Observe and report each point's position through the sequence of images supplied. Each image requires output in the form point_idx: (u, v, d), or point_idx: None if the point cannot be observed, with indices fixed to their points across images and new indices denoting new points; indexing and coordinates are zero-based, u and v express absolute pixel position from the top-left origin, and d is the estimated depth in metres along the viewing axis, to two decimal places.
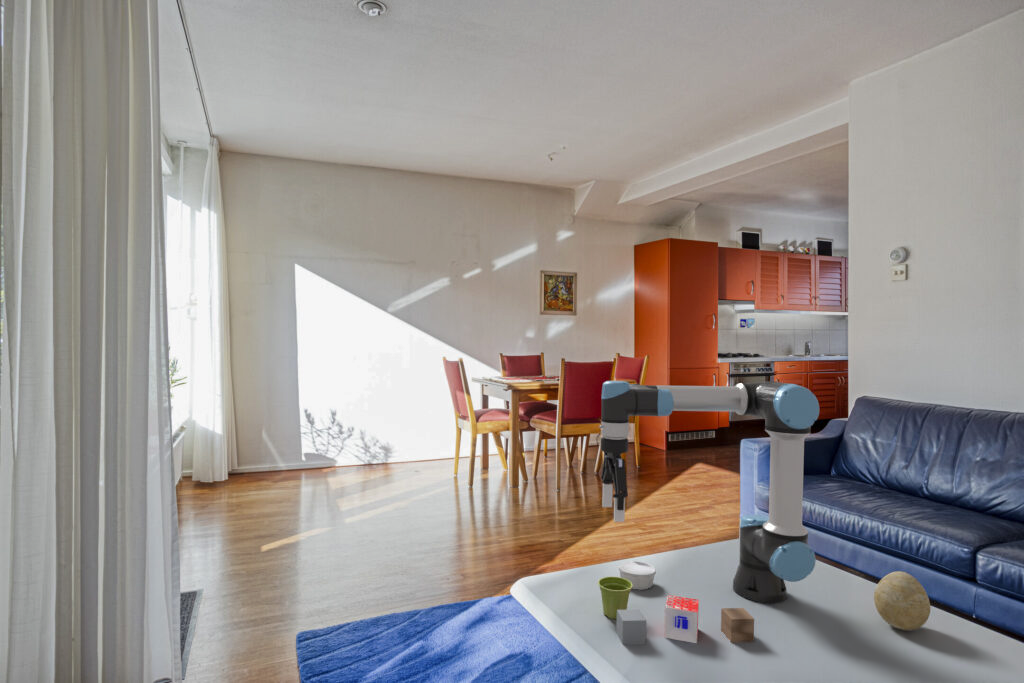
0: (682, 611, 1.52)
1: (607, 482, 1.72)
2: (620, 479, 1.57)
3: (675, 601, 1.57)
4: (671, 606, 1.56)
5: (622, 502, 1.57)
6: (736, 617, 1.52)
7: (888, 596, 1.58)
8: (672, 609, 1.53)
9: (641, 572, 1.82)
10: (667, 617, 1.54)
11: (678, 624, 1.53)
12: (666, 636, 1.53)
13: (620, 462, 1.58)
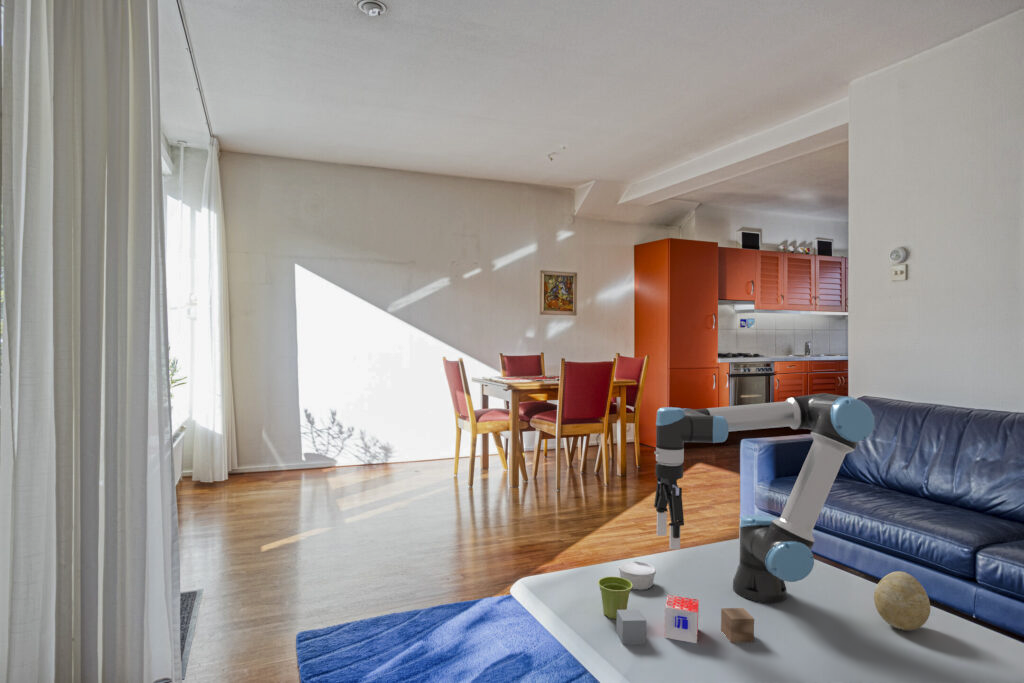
0: (682, 611, 1.52)
1: (661, 511, 1.73)
2: (677, 508, 1.60)
3: (675, 601, 1.57)
4: (671, 606, 1.56)
5: (678, 530, 1.60)
6: (736, 617, 1.52)
7: (888, 596, 1.58)
8: (672, 609, 1.53)
9: (641, 572, 1.82)
10: (667, 617, 1.54)
11: (678, 624, 1.53)
12: (666, 636, 1.53)
13: (677, 491, 1.61)
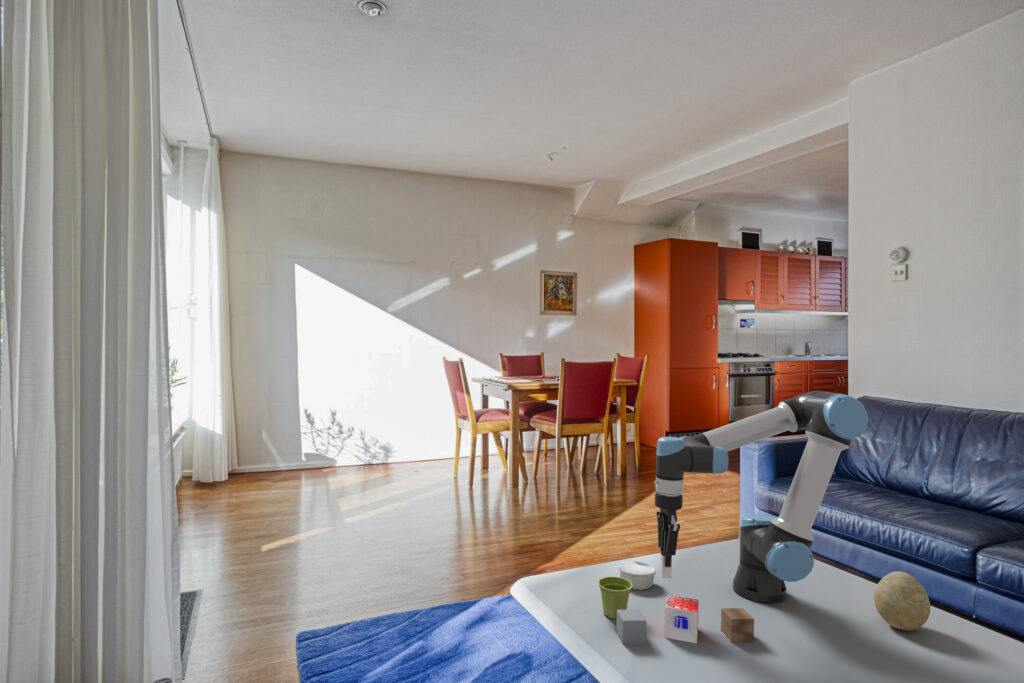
0: (682, 611, 1.52)
1: None
2: (671, 542, 1.63)
3: (675, 601, 1.57)
4: (671, 606, 1.56)
5: (670, 560, 1.66)
6: (736, 617, 1.52)
7: (888, 596, 1.58)
8: (672, 609, 1.53)
9: (641, 572, 1.82)
10: (667, 617, 1.54)
11: (678, 624, 1.53)
12: (666, 636, 1.53)
13: (675, 528, 1.61)
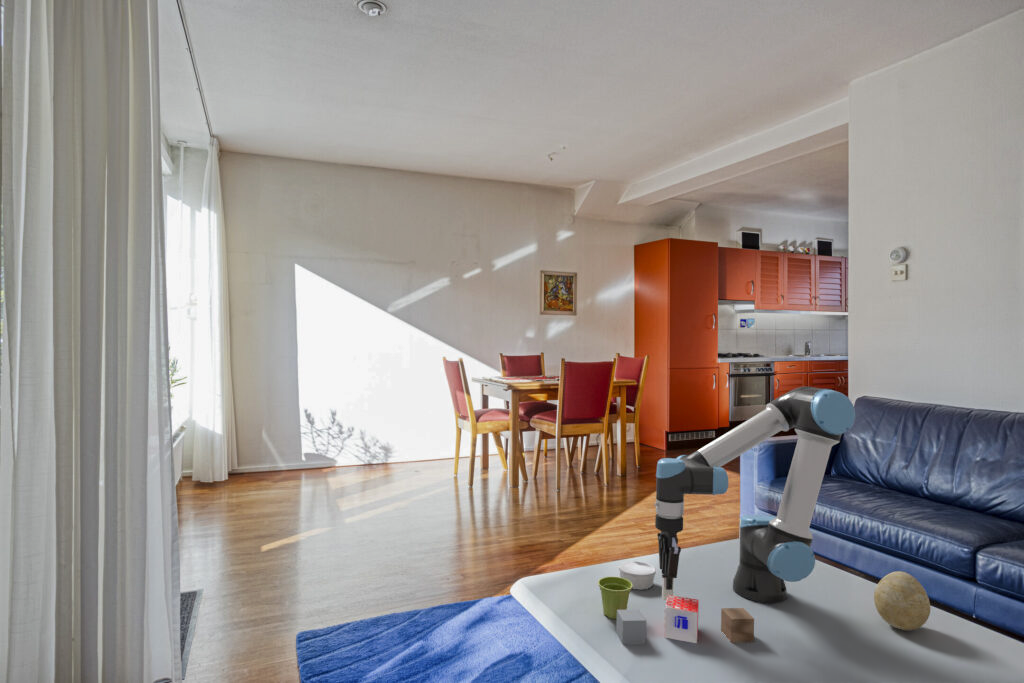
0: (682, 611, 1.52)
1: None
2: (672, 564, 1.62)
3: (675, 601, 1.57)
4: (671, 606, 1.56)
5: (671, 582, 1.65)
6: (736, 617, 1.52)
7: (888, 596, 1.58)
8: (672, 609, 1.53)
9: (641, 572, 1.82)
10: (667, 617, 1.54)
11: (678, 624, 1.53)
12: (666, 636, 1.53)
13: (676, 551, 1.61)
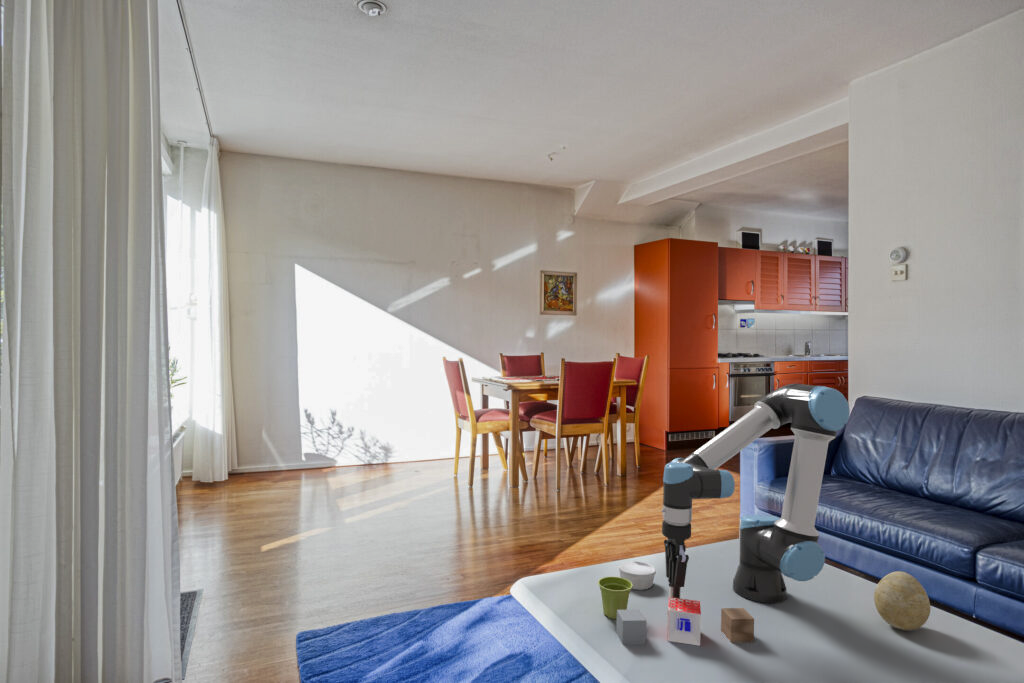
0: (685, 613, 1.51)
1: None
2: (680, 573, 1.56)
3: (677, 603, 1.55)
4: (673, 608, 1.55)
5: (678, 591, 1.59)
6: (736, 617, 1.52)
7: (888, 596, 1.58)
8: (675, 611, 1.51)
9: (641, 572, 1.82)
10: (670, 619, 1.52)
11: (681, 626, 1.52)
12: (669, 639, 1.52)
13: (683, 559, 1.54)
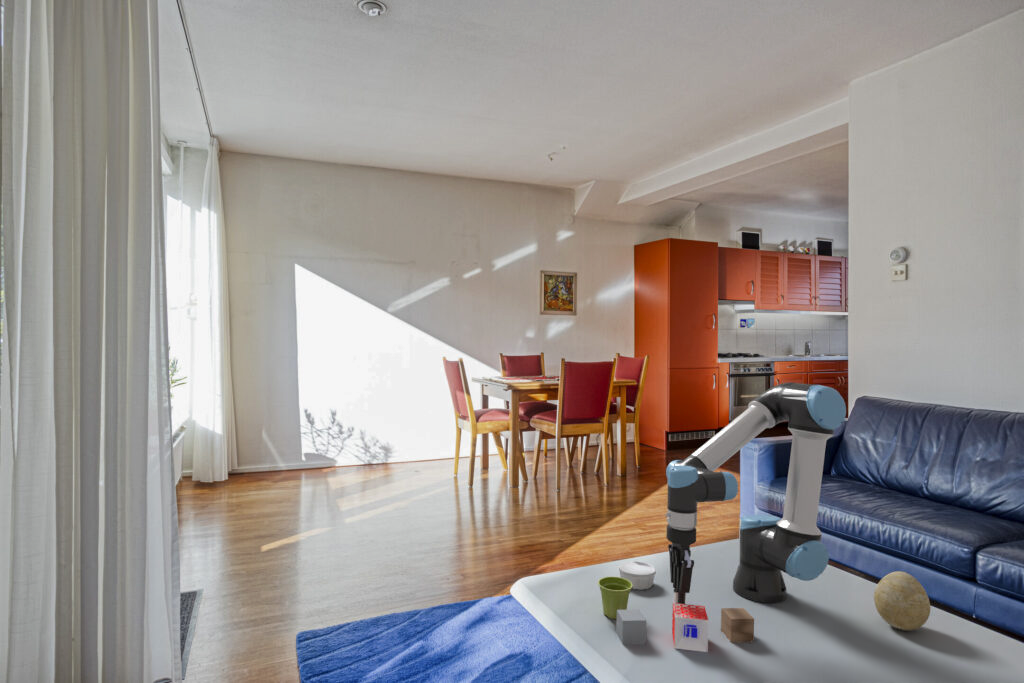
0: (692, 619, 1.48)
1: None
2: (685, 579, 1.53)
3: (682, 609, 1.52)
4: (679, 615, 1.51)
5: (683, 597, 1.55)
6: (736, 617, 1.52)
7: (888, 596, 1.58)
8: (682, 618, 1.48)
9: (641, 572, 1.82)
10: (676, 626, 1.48)
11: (687, 633, 1.49)
12: (676, 646, 1.48)
13: (689, 565, 1.51)
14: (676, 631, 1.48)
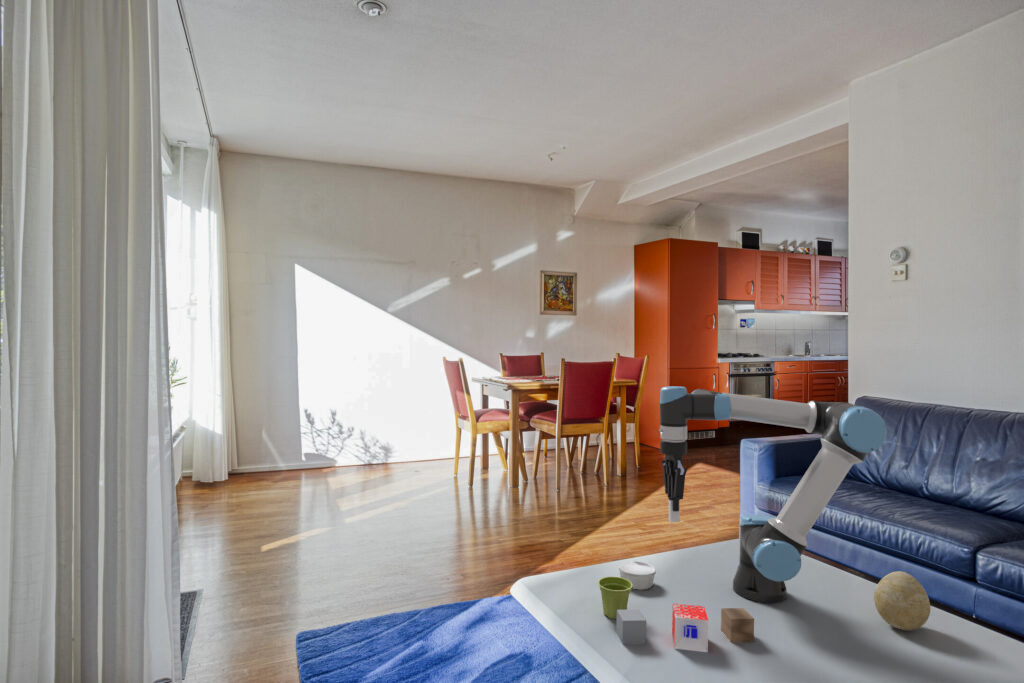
0: (692, 620, 1.48)
1: None
2: (679, 485, 1.68)
3: (682, 610, 1.52)
4: (679, 615, 1.51)
5: (677, 504, 1.71)
6: (736, 617, 1.52)
7: (888, 596, 1.58)
8: (682, 618, 1.48)
9: (641, 572, 1.82)
10: (676, 627, 1.48)
11: (687, 633, 1.49)
12: (676, 647, 1.48)
13: (682, 472, 1.67)
14: (676, 631, 1.48)
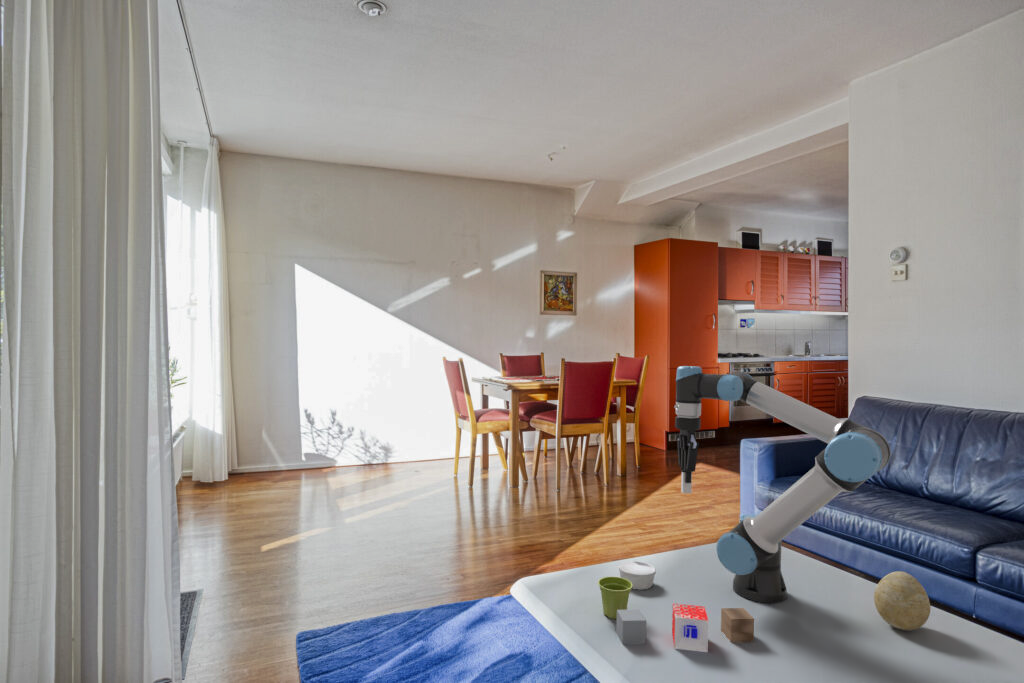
0: (692, 620, 1.48)
1: None
2: (691, 458, 1.80)
3: (682, 610, 1.52)
4: (679, 615, 1.51)
5: (690, 476, 1.82)
6: (736, 617, 1.52)
7: (888, 596, 1.58)
8: (682, 618, 1.48)
9: (641, 572, 1.82)
10: (676, 627, 1.48)
11: (687, 633, 1.49)
12: (676, 647, 1.48)
13: (694, 445, 1.78)
14: (676, 631, 1.48)
